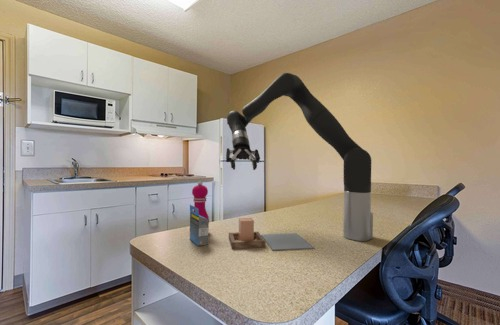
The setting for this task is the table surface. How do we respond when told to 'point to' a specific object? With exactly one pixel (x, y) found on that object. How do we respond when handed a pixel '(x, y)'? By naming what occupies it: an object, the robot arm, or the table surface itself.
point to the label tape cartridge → (198, 227)
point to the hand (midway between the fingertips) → (244, 168)
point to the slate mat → (286, 241)
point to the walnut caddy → (246, 244)
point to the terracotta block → (246, 229)
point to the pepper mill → (200, 199)
